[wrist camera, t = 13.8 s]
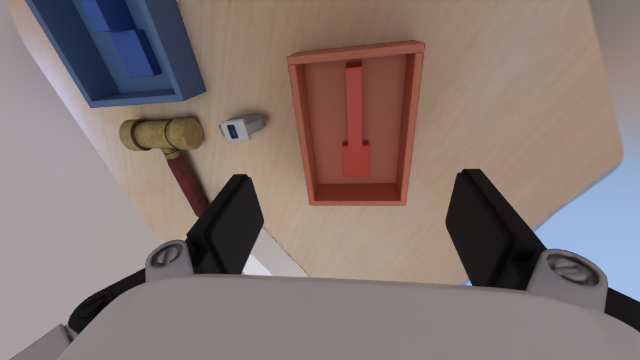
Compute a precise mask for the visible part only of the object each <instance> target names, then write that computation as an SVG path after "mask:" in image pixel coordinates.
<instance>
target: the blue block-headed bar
mask: <svg viewBox="0 0 640 360" xmlns="http://www.w3.org/2000/svg"><path fill="white" fill-rule="evenodd" d="M80 1H81V3H82V5H83V7H84V9H85V11H86V13H87V15H88V17H89V19H90V21H91V23H92V25H93V27H94V29H95V31H96V32H111V33H109V35H110V37H111V39H112V41H113V43H114V45H115V47H116V50H117V52H118V54H119V56H120V58H121V60H122V62H123V64H124V66H125V68H126V70H127V72H128V74H129V76H130V77H131V78H132V77H142V76H153V75H158V74H162V71H161V69H160V67H159V64H158V62H157V59H156V57H155V55H154V52H153V50H152V47H151V45H150V43H149V40H148V38H147V35H146V33H145V31H144V29H137V27H136V25H135V23H134V20H133V18H132V16H131V13H130V11H129V9H128V6H127V4H126V2H125V0H80Z"/></svg>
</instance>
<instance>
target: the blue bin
mask: <svg viewBox="0 0 640 360" xmlns="http://www.w3.org/2000/svg"><path fill="white" fill-rule="evenodd" d="M25 1H26V3H27V4H28V6H29V8H30V9H31V11H32V13H33V14H34V16H35V18H36V19H37V21H38V23H39V24H40V26H41V27H42V29H43V31H44V32H45V34H46V36H47V37H48V39H49V41H50V42H51V44H52V46H53V47H54V49H55V51H56V52H57V54H58V55H59V57H60V59H61V60H62V62H63V64H64V65H65V67H66V69H67V70H68V72H69V74H70V75H71V77H72V78H73V80H74V82H75V83H76V85H77V87H78V88H79V90H80V92H81V93H82V95H83V97H84V98H85V100H86V101H87V103H88V105H89V106H90V108H97V107H110V106H124V105H137V104H150V103H163V102H176V101H185V100H187V99H190V98H192V97H194V96H197V95H199V94H201V93H203V92H206V89H205V86H204V83H203V80H202V77H201V74H200V71H199V68H198V65H197V62H196V59H195V57H194V54H193V51H192V48H191V45H190V42H189V39H188V36H187V33H186V30H185V27H184V24H183V21H182V18H181V15H180V12H179V9H178V6H177V3H176V0H125V2H126V4H127V6H128V9H129V11H130V13H131V16H132V18H133V20H134V23H135V25H136V27H137V29H144V31H145V33H146V35H147V38H148V40H149V43H150V45H151V47H152V50H153V52H154V55H155V57H156V59H157V62H158V64H159V67H160V69H161V71H162V74H158V75H153V76H142V77H132V78H131V77H130V76H129V74H128V72H127V70H126V68H125V66H124V64H123V62H122V60H121V58H120V56H119V54H118V52H117V50H116V47H115V45H114V43H113V41H112V39H111V37H110V35H109V33H111V32H96V31H95V29H94V27H93V25H92V23H91V21H90V19H89V17H88V15H87V13H86V11H85V9H84V7H83V5H82V3H81V1H80V0H25Z"/></svg>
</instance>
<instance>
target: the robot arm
mask: <svg viewBox="0 0 640 360" xmlns="http://www.w3.org/2000/svg"><path fill="white" fill-rule="evenodd" d="M263 224H264V218H263V215H262V211H261V208H260V205H259V202H258V198H257V195H256V192H255V189H254V185H253V182H252V179H251V178H250V177H248V176H247V175H246V174H235V175H233V176H232V177H231V178H230V180H229V181H228V182H227V184H226V185H225V186H224V187H223V189H222V190H221V191H220V192H219V194H218V195H217V196H216V198H215V199H214V200H213V201H212V203H211V204H210V205H209V206H208V208H207V209H206V210H205V212H204V213H203V214H202V215H201V217H200V218H199V219H198V220H197V222H196V223H195V224H194V226H193V227H192V228H191V229H190V231H189V232H188V233H187V234H186V235H187V237H188V238H187V239H186V240H185V242H184V241H183V240H173V241H169V242H166V243H164V244H162V245H160V246H159V247H158V248H156V249H155V250H154V251H153V252H152V253H151V254H150V255H149V256H148V258H147V259H146V264H145V268H144V269H142V270H140V271H138V272H136V273H134V274H132V275H130V276H128V277H126V278H124V279H122V280H120V281H118V282H116V283H115V284H112V285H110V286H109V287H107V288H105V289H103V290H101V291H99V292H97V293H95V294H93V295H92V296H90V297H88V298H87V299H86V300H84V301H83V302H82V303H81V304H80V305H79V306H78V307H77V308H76V309H75V310H74V312H73V313H72V314H71V316H70V318H69V321H68V324H67V325H65V326H64V325H62V324H60V325H58V326H57V327H56V328H54V329H53V330H51V331H50V332H48V333H47V334H45V335H44V336H43V337H41V338H40V339H38V340H37V341H35V342H34V343H33V344H31V345H30V346H28V347H27V348H26V349H24V350H23V351H21V352H20V353H19V354H17V355H16V356H14V357H13V358H11V359H10V360H640V302H638V301H636V300H634V299H632V298H630V297H628V296H626V295H624V294H622V293H620V292H618V291H615V290H613V289H611V288H609V287H608V282H607V277H606V275H605V274H604V273H603V271H602V270H601V269H600V268H599V267H598V266H596V265H595V264H594V263H592V262H591V261H589V260H588V259H586V258H584V257H582V256H580V255H578V254H576V253H573V252H569V251H567V250H561V249H547V248H546V247H545V246H544V245H543V243H542V242H541V241H540V240H539V238H538V237H537V236H536V235H535V234H534V232H533V231H532V230H531V229H530V228H529V226H528V225H527V224H526V223H525V222H524V221H523V219H522V218H521V217H520V216H519V215H518V213H517V212H516V211H515V210H514V209H513V207H512V206H511V205H510V204H509V203H508V202H507V200H506V199H505V198H504V197H503V196H502V194H501V193H500V192H499V191H498V190H497V189H496V187H495V186H494V185H493V184H492V183H491V181H490V180H489V179H488V178H487V177H486V176H485V174H484V173H483V172H482V171H481V170H480V169H463V170H462V172H461V173H458V174H457V176H456V180H455V184H454V188H453V192H452V196H451V200H450V204H449V208H448V212H447V216H446V227H447V230H448V232H449V234H450V237H451V239H452V241H453V243H454V246H455V248H456V250H457V252H458V255H459V257H460V259H461V261H462V264H463V266H464V268H465V270H466V273H467V275H468V277H469V279H470V282H471V284H472V286H466V285H452V284H434V283H415V282H396V281H376V280H355V279H334V278H312V277H289V276H265V275H241V274H242V271H243V269H244V267H245V265H246V262H247V260H248V258H249V256H250V253H251V251H252V249H253V247H254V244H255V242H256V240H257V238H258V236H259V233H260V231H261V229H262V227H263Z"/></svg>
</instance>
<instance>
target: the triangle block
mask: <svg viewBox="0 0 640 360" xmlns="http://www.w3.org/2000/svg"><path fill="white" fill-rule="evenodd" d="M241 275H265V276H289V277H309V276H308V275H307V274H306V273H305V272H304V271H303V270H302V269H301V268H300V267H299V266H298V265H297V263H296V262H295V261H294V260H293V259H292V258H291V257H290V256H289V255H288V254H287V253H286V252H285V251H284V250H283V249H282V248H281V246H280V245H279V244H278V243H277V242H276V241H275V240H274V239H273V238H272V237H271V236H270V235H269V234H268V233H267V232H266V230H265V229H264V228H263V227H262V229H261V231H260V233H259V236H258V238H257V240H256V242H255V244H254V247H253V249H252V251H251V253H250V256H249V258H248V260H247V262H246V265H245V267H244V269H243V271H242V274H241Z"/></svg>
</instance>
